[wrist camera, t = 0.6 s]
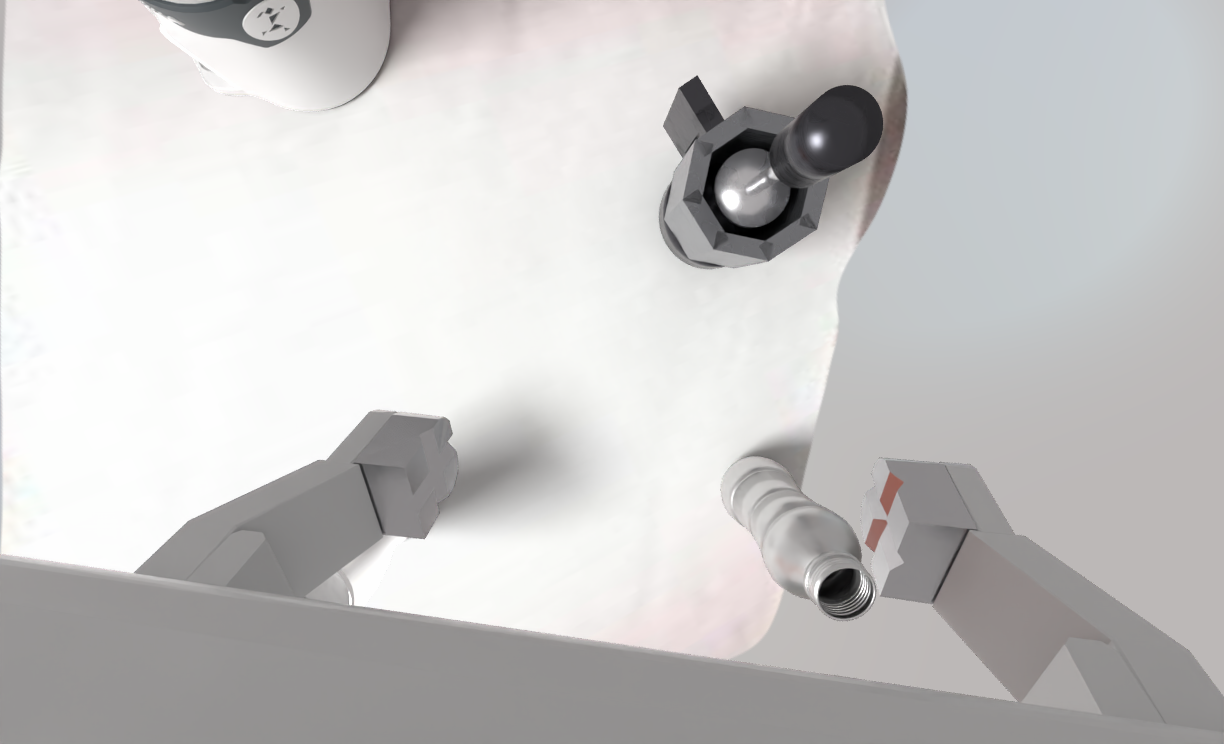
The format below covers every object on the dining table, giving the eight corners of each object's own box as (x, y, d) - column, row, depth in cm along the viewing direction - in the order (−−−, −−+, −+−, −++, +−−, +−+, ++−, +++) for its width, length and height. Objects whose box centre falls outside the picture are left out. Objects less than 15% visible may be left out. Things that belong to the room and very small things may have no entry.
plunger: (698, 178, 37) (764, 107, 23) (762, 135, 37) (866, 37, 23) (738, 242, 38) (825, 210, 24) (800, 200, 37) (925, 143, 23)
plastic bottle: (713, 452, 52) (789, 546, 33) (784, 447, 53) (902, 538, 33) (716, 517, 53) (790, 648, 34) (785, 512, 54) (900, 639, 34)
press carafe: (618, 168, 49) (629, 117, 35) (706, 108, 48) (753, 32, 34) (694, 288, 50) (734, 285, 36) (780, 231, 50) (853, 206, 36)
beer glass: (409, 468, 52) (336, 537, 37) (433, 536, 52) (371, 631, 38) (337, 489, 52) (235, 567, 37) (362, 557, 52) (272, 659, 38)
